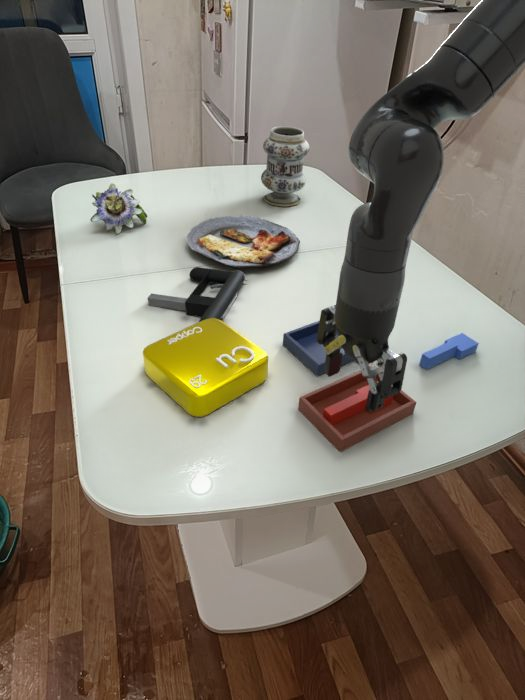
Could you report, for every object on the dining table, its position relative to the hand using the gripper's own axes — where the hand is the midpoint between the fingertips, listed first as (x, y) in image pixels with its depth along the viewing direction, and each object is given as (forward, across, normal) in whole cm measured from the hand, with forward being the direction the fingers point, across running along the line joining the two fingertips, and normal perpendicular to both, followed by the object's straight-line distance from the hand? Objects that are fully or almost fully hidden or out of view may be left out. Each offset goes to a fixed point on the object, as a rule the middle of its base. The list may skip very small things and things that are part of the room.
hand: (351, 390), depth 72 cm
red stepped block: (+5, 0, -2) cm, 5 cm away
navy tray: (+5, +14, -9) cm, 18 cm away
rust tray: (+5, 0, -2) cm, 6 cm away
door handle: (+5, +39, +5) cm, 39 cm away
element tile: (+5, +19, +13) cm, 24 cm away
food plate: (+5, +53, -15) cm, 56 cm away
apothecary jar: (+5, +72, -39) cm, 82 cm away
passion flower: (+5, +77, +5) cm, 78 cm away
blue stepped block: (+6, +2, -24) cm, 25 cm away
